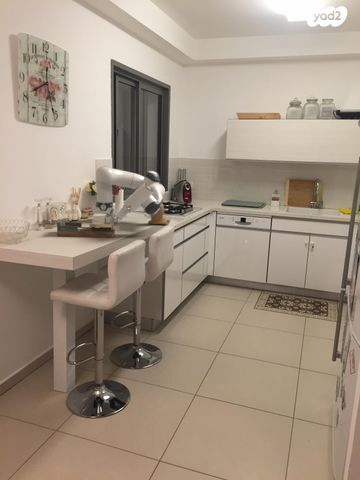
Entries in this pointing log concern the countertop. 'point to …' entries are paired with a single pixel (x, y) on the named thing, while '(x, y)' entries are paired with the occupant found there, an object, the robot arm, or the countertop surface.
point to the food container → (107, 219)
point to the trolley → (102, 220)
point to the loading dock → (82, 230)
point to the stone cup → (159, 217)
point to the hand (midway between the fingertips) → (114, 221)
